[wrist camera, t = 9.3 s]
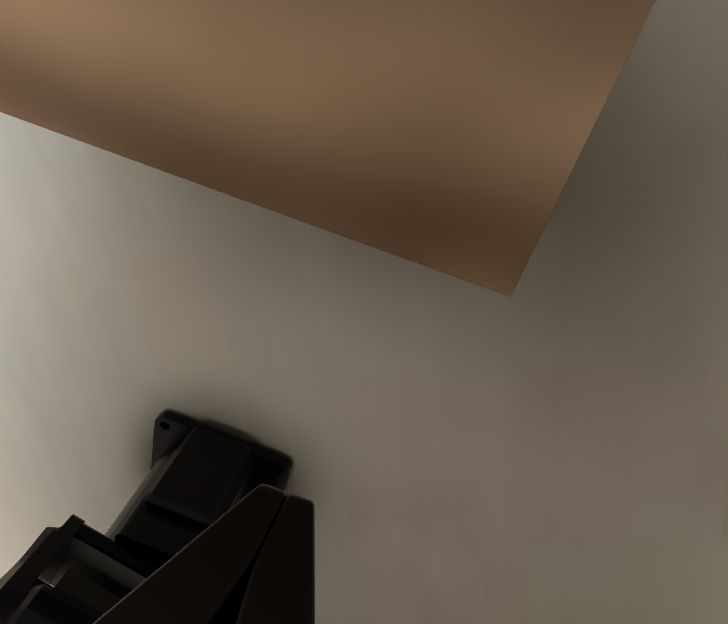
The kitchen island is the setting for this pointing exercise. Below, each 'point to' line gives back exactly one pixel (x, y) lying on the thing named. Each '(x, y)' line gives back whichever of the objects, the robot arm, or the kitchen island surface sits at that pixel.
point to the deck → (339, 107)
